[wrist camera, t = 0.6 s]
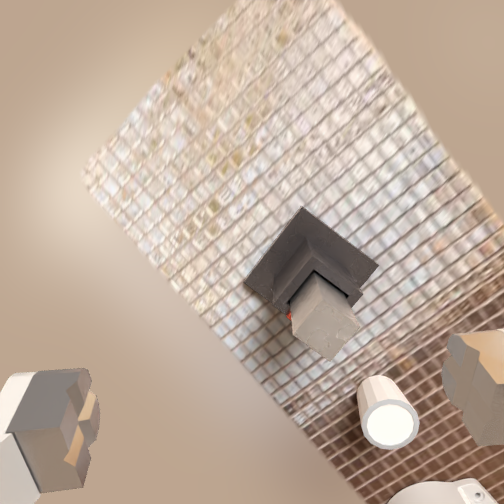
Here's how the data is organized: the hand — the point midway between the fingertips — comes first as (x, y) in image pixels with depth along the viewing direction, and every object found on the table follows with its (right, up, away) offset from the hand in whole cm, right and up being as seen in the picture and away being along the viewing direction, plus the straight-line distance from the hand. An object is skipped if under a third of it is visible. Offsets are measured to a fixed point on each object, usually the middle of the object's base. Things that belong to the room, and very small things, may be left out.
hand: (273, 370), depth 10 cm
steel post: (+7, 0, +44) cm, 45 cm away
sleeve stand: (+7, 0, +46) cm, 47 cm away
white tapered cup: (+17, -17, +49) cm, 55 cm away
